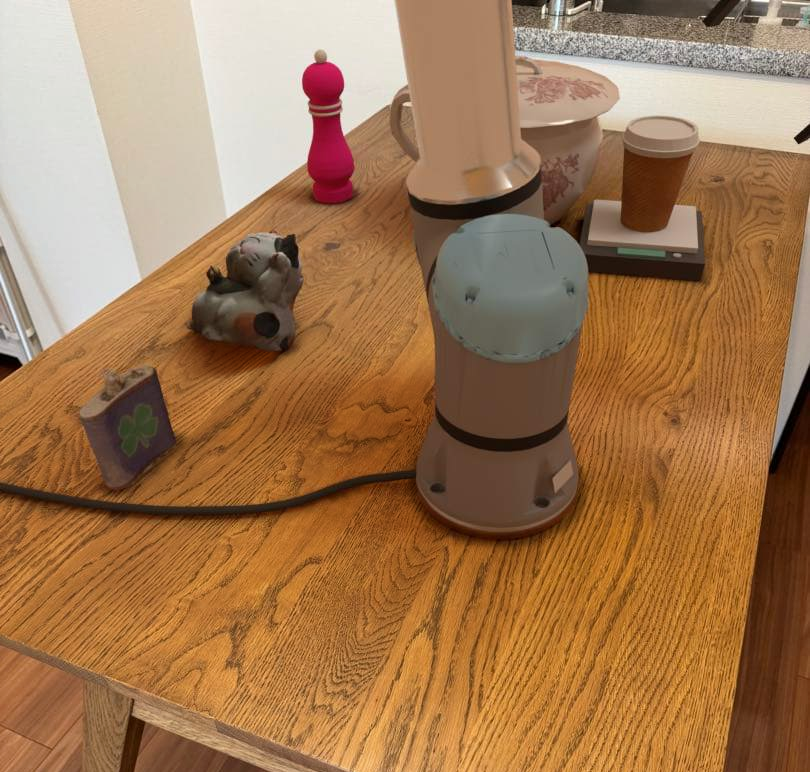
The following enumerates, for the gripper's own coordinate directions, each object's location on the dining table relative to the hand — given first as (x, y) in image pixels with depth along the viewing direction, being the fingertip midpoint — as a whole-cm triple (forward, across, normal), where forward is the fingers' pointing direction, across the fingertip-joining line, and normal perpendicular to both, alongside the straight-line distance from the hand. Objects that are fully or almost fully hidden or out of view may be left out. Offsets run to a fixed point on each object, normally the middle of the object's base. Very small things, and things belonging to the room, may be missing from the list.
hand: (754, 81), depth 72 cm
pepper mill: (+56, +36, -9) cm, 68 cm away
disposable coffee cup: (+26, +1, -21) cm, 34 cm away
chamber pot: (+41, +16, -19) cm, 48 cm away
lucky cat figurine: (+49, +17, +26) cm, 58 cm away
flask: (+47, +8, +50) cm, 69 cm away
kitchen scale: (+29, -1, -21) cm, 35 cm away
